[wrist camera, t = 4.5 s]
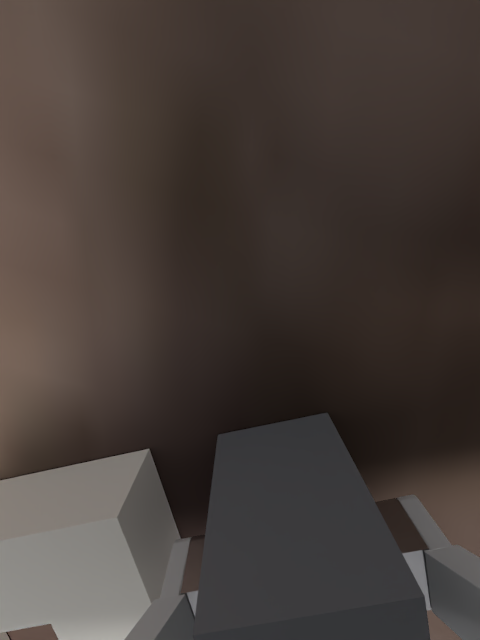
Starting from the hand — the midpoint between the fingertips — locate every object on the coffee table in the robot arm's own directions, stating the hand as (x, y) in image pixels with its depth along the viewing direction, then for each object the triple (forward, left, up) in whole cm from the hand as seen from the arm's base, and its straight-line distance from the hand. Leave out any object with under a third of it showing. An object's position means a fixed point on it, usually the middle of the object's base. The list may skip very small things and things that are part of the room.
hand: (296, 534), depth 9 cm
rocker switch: (0, 0, -3) cm, 3 cm away
